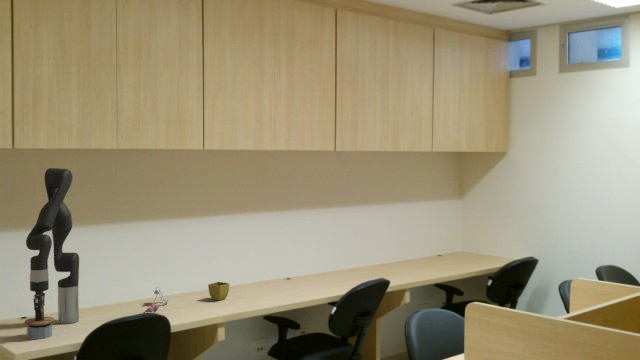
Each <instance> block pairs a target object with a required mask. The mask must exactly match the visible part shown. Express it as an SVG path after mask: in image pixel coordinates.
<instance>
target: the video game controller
mask: <svg viewBox="0 0 640 360" xmlns="http://www.w3.org/2000/svg"><path fill="white" fill-rule="evenodd" d="M159 307H160V305H158V304H155V303H154V304H153V303H152V304H150V305H149V306H148V308H147V309H145V311H143V312H142V313H145V312H154V313H155V314H156V313H157V311H158V310H159Z"/></svg>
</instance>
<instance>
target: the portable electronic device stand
mask: <svg viewBox="0 0 640 360" xmlns="http://www.w3.org/2000/svg"><path fill="white" fill-rule="evenodd" d="M153 294H155V295H156V296H155V299H154V301H153V303H152V304H155V303H156V302H155V301H156V299H157V297H158V295H159V298H160V300H161V303H162V304H163V305H164V306H165V305H166V306H167V305H168V303H169V298H168V297H167V299H165V297H164V295H163V292H162V291H161V288H160V287H156V288H155V289H154V291H153Z"/></svg>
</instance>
